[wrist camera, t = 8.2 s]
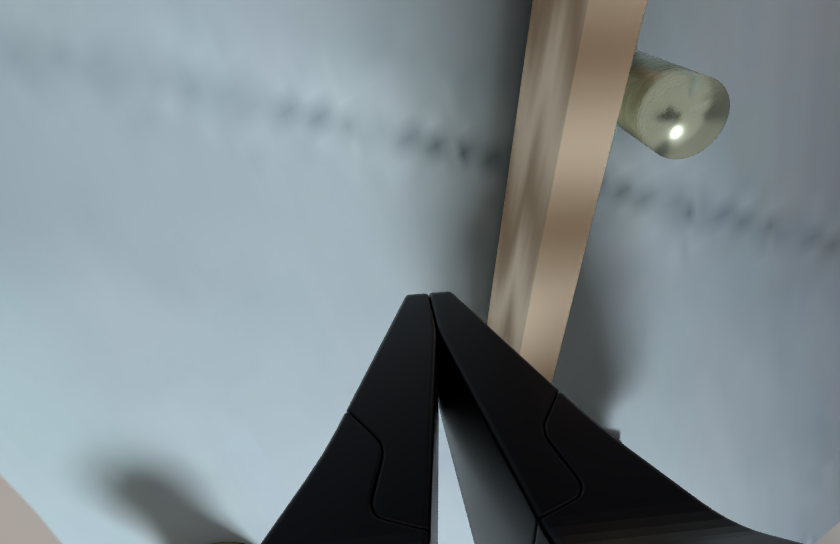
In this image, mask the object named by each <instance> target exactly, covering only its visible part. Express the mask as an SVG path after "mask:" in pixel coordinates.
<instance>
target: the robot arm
mask: <svg viewBox="0 0 840 544" xmlns="http://www.w3.org/2000/svg"><path fill="white" fill-rule="evenodd" d="M438 403H439V409H440V413H441V417H442V422H443V425H444V429H445V433H446V437H447V441H448V444H449V448H450V452H451V456H452V460H453V463H454V467H455V471H456V475H457V479H458V482H459V486H460V490H461V494H462V498H463V501H464V505H465V509H466V513H467V517H468V520H469V524H470V528H471V532H472V536H473V539H474V543H475V544H802V543H798V542H795V541H791V540H787V539H783V538H779V537H776V536H772V535H768V534H764V533H761V532H758V531H755V530H752V529H749V528H747V527H744V526H742V525H740V524H738V523H736V522H734V521H732V520H730V519H727V518H726V517H724V516H722V515H721V514H719V513H717V512H716V511H714V510H712V509H711V508H709V507H708V506H707V505H705V504H704V503H702V502H701V501H699V500H698V499H697V498H695V497H694V496H692V495H691V494H690V493H688V492H687V491H686V490H684V489H683V488H682V487H680V486H679V485H678V484H676V483H675V482H674V481H672V480H671V479H669V478H668V477H667V476H665V475H664V474H663V473H661V472H660V471H659V470H657V469H656V468H655V467H653V466H652V465H650V464H649V463H648V462H646V461H645V460H644V459H642V458H641V457H640V456H638V455H637V454H636V453H634V452H633V451H632V450H630V449H629V448H627V447H626V446H625V445H624V444H622V442H621V441H620V440H617V439H616V438H615V437H613V436H612V435H611V434H609V433H608V432H607V431H606V430H604V429H603V428H602V427H600V426H599V425H598V424H597V423H596V422H594V421H593V420H592V419H591V418H590V417H589V416H588V415H586V414H585V413H584V412H583V411H582V410H581V409H579V408H578V407H577V406H576V405H575V404H574V403H573V402H571V401H570V400H569V399H568V398H567V397H566V396H565V395H564V394H563V393H559V390H558V389H557V388H556V387H555V386H554V385H553V384H551V383H550V382H549V381H548V380H547V379H546V378H545V377H544V376H543V375H542V374H540V373H539V372H538V371H537V370H536V369H535V368H534V367H533V366H532V365H531V364H529V363H528V362H527V361H526V360H525V359H524V358H523V357H522V356H521V355H520V354H518V353H517V352H516V351H515V350H514V349H513V348H512V347H511V346H510V345H509V344H507V343H506V342H505V341H504V340H503V339H502V338H501V337H500V336H499V335H498V334H496V333H495V332H494V331H493V330H492V329H491V328H490V327H489V326H488V325H487V324H486V323H484V322H483V321H482V320H481V319H480V318H479V317H478V316H477V315H476V314H475V313H473V312H472V311H471V310H470V309H469V308H468V307H467V306H466V305H465V304H464V303H462V302H461V301H460V300H459V299H458V298H457V297H456V296H455V295H454V294H453V293H451V292H438V293H431V294H430V295H429V296H428V295H427V294H413V295H407V296H406V297H405V299H404V301H403V303H402V305H401V307H400V308H399V310H398V312H397V314H396V316H395V318H394V320H393V322H392V324H391V326H390V328H389V330H388V332H387V334H386V335H385V337H384V339H383V341H382V343H381V345H380V347H379V349H378V351H377V353H376V355H375V357H374V359H373V361H372V363H371V364H370V366H369V368H368V370H367V372H366V374H365V376H364V378H363V380H362V382H361V384H360V386H359V388H358V390H357V391H356V393H355V395H354V397H353V399H352V401H351V403H350V405H349V407H348V409H347V413H345V414H344V416H343V418H342V420H341V422H340V424H339V426H338V428H337V430H336V431H335V433H334V435H333V437H332V438H331V440H330V442H329V444H328V446H327V447H326V449H325V451H324V453H323V454H322V456H321V457H320V459H319V460H318V462H317V463H316V465H315V466H314V468H313V469H312V471H311V472H310V474H309V476H308V477H307V479H306V480H305V482H304V483H303V484H302V486H301V487H300V489H299V490H298V492H297V493H296V494H295V496H294V497H293V499H292V500H291V501H290V503H289V504H288V506H287V507H286V509H285V510H284V511H283V513H282V514H281V516H280V517H279V519H278V520H277V521H276V523H275V524H274V526H273V527H272V528H271V530H270V531H269V533H268V534H267V536H266V537H265V538H264V540H263V541H262V543H261V544H438V436H439V414H438Z"/></svg>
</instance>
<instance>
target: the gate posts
mask: <svg viewBox="0 0 840 544" xmlns="http://www.w3.org/2000/svg"><path fill="white" fill-rule="evenodd" d="M729 108H730V100H729V95H728V93H727V90H726V89H725V87H724V86H723V84H722V83H720V82H719V81H718V80H716V79H714V78H712V77H709V76H706V75H703V74H701V73H698V72H695V71H692V70H690V69H687V68H684V67H681V66H679V65H676V64H673V63H670V62H668V61H665V60H662V59H659V58H657V57H654V56H651V55H648V54H646V53H643V52H640V51H637V50H635V52H634V56H633V60H632V64H631V68H630V72H629V76H628V80H627V84H626V88H625V92H624V96H623V100H622V104H621V108H620V112H619V116H618V120H617V124H616V125H617V126H619V127H620V128H621V129H623V130H624V131H626V132H627V133H629V134H630V135H632V136H633V137H634V138H636V139H637V140H639V141H640V142H642V143H643V144H645V145H646V146H647V147H649V148H650V149H652V150H653V151H655V152H656V153H658V154H659V155H660V156H663V157H665V158H668V159H683V158H687V157H690V156H693V155H695V154H697V153H699V152H701V151H702V150H704V149H705V148H706V147H708V146H709V145H710V144H711V143H712V142H713V141H714V140H715V139H716V138H717V136H718V135H719V134H720V132H721V131H722V129H723V127H724V125H725V123H726V121H727V118H728V114H729Z"/></svg>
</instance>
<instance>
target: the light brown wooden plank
mask: <svg viewBox="0 0 840 544" xmlns="http://www.w3.org/2000/svg"><path fill="white" fill-rule="evenodd" d="M646 4H647V0H533V3H532V10H531V17H530V24H529V31H528V38H527V45H526V52H525V59H524V66H523V73H522V80H521V87H520V94H519V101H518V109H517V116H516V123H515V130H514V137H513V144H512V151H511V158H510V165H509V172H508V179H507V186H506V193H505V200H504V207H503V214H502V221H501V228H500V236H499V243H498V250H497V257H496V264H495V271H494V278H493V285H492V292H491V299H490V306H489V313H488V320H487V325H488V326H489V327H490V328H491V329H492V330H493V331H494V332H495V333H496V334H498V335H499V336H500V337H501V338H502V339H503V340H504V341H505V342H506V343H507V344H509V345H510V346H511V347H512V348H513V349H514V350H515V351H516V352H517V353H518V354H520V355H521V356H522V357H523V358H524V359H525V360H526V361H527V362H528V363H529V364H531V365H532V366H533V367H534V368H535V369H536V370H537V371H538V372H539V373H540V374H542V375H543V376H544V377H545V378H546V379H547V380H548V381H549V382H550V383H551V384H552V380H553V376H554V372H555V368H556V364H557V360H558V356H559V352H560V348H561V344H562V340H563V336H564V332H565V328H566V324H567V320H568V316H569V312H570V308H571V304H572V300H573V296H574V292H575V288H576V284H577V280H578V276H579V272H580V268H581V264H582V260H583V256H584V252H585V248H586V244H587V240H588V236H589V232H590V228H591V224H592V220H593V216H594V212H595V208H596V204H597V200H598V196H599V192H600V188H601V184H602V180H603V176H604V172H605V168H606V164H607V160H608V156H609V152H610V148H611V144H612V140H613V136H614V132H615V128H616V124H617V120H618V116H619V112H620V108H621V104H622V100H623V96H624V92H625V88H626V84H627V80H628V76H629V72H630V68H631V64H632V60H633V56H634V52H635V48H636V44H637V40H638V36H639V32H640V28H641V24H642V20H643V16H644V12H645V8H646Z"/></svg>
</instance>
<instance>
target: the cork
mask: <svg viewBox="0 0 840 544" xmlns="http://www.w3.org/2000/svg"><path fill="white" fill-rule="evenodd" d="M214 544H242V543H236V542H220V543H214Z"/></svg>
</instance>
